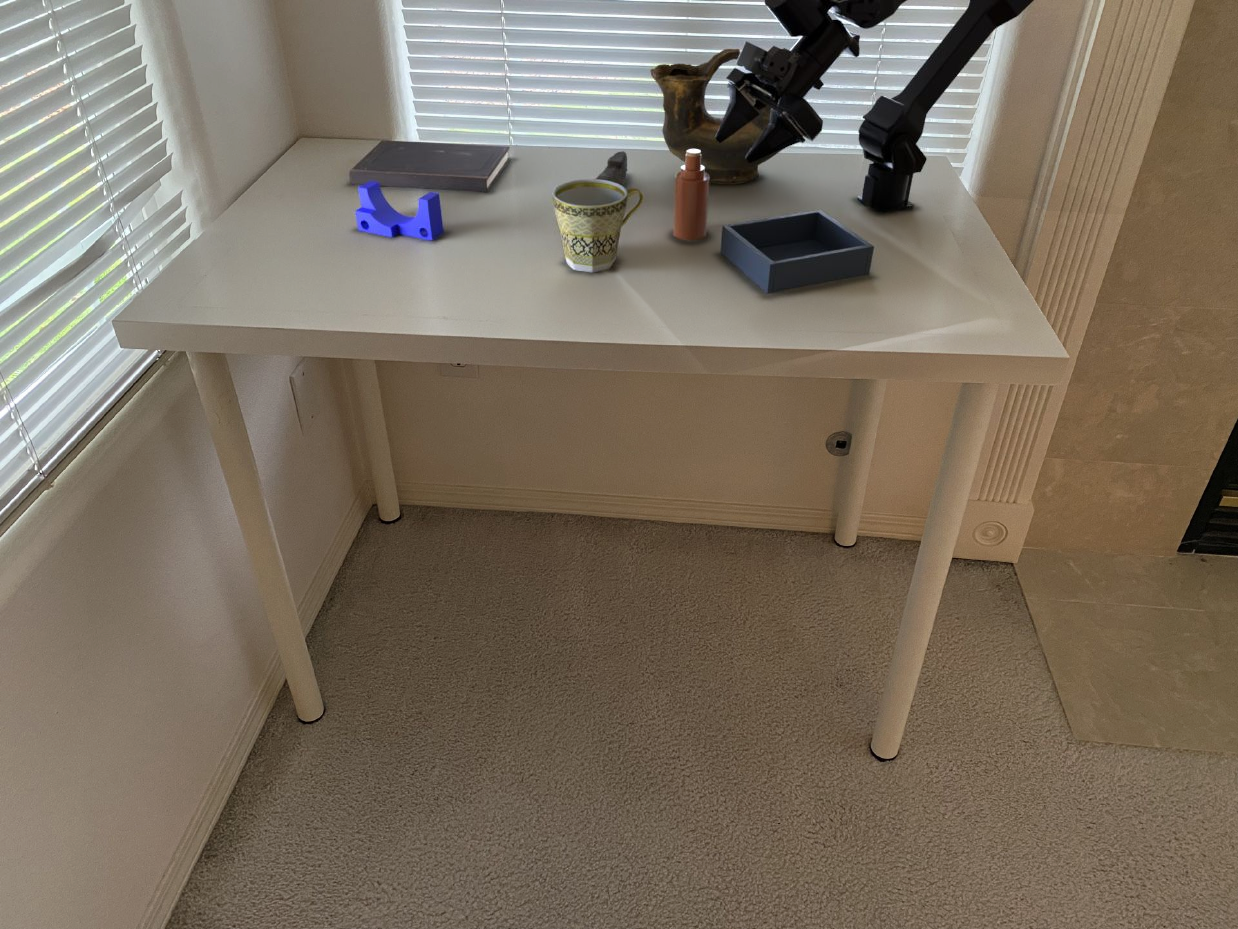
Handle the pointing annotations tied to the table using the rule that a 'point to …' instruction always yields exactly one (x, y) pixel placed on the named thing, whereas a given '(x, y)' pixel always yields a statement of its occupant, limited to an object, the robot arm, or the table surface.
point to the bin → (796, 250)
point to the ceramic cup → (591, 221)
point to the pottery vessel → (706, 122)
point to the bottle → (691, 198)
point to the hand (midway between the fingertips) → (731, 150)
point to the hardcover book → (431, 165)
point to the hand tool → (615, 169)
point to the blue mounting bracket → (398, 215)
